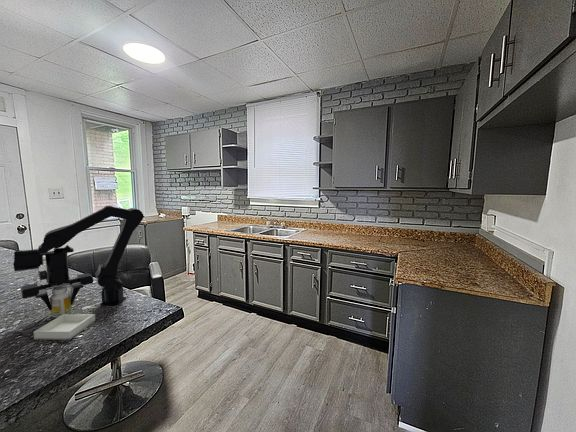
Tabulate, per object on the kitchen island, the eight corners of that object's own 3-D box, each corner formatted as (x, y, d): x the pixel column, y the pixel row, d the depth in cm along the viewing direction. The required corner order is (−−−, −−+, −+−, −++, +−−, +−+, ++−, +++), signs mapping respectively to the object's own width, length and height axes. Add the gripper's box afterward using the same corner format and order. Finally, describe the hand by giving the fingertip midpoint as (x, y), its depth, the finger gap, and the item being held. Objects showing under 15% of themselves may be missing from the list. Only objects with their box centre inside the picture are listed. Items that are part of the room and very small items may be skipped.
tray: (95, 320, 87) (94, 314, 87) (70, 339, 77) (69, 331, 76) (64, 320, 87) (63, 314, 86) (34, 339, 76) (33, 331, 76)
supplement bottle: (69, 308, 95) (67, 284, 94) (73, 313, 92) (70, 288, 91) (50, 314, 91) (47, 288, 90) (53, 319, 88) (50, 292, 86)
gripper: (84, 256, 101) (87, 293, 103) (17, 266, 87) (21, 309, 89) (92, 261, 94) (95, 301, 96) (20, 274, 80) (24, 320, 82)
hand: (61, 307), depth 91 cm, fingers closed on supplement bottle, 5 cm apart
